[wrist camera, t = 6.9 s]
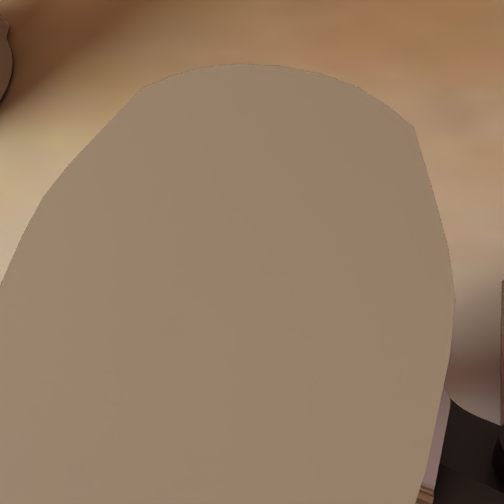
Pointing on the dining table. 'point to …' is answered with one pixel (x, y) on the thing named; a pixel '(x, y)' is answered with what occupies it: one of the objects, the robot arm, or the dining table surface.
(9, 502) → the handle
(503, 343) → the holder
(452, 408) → the robot arm
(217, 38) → the dining table surface
